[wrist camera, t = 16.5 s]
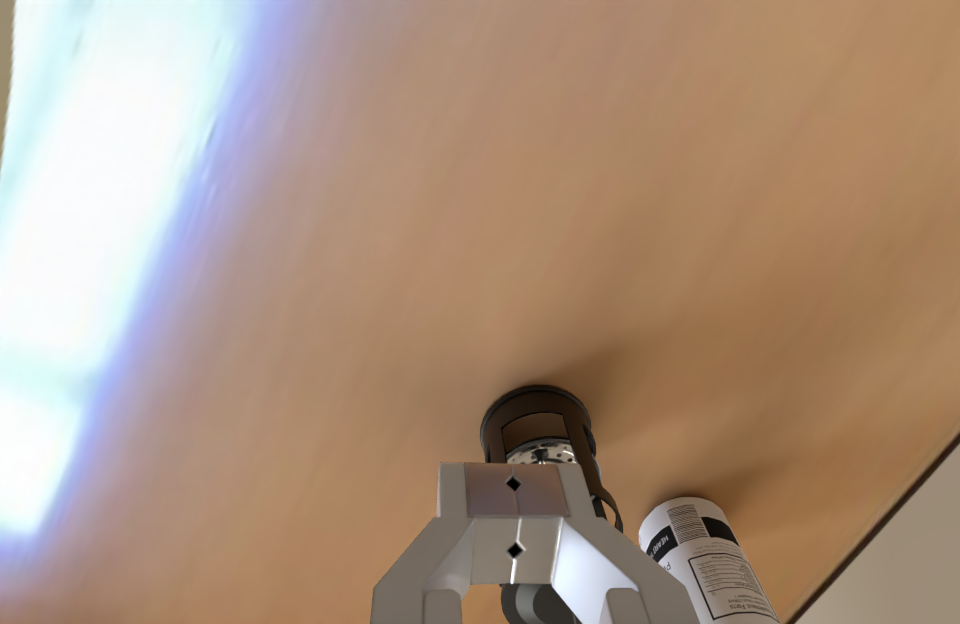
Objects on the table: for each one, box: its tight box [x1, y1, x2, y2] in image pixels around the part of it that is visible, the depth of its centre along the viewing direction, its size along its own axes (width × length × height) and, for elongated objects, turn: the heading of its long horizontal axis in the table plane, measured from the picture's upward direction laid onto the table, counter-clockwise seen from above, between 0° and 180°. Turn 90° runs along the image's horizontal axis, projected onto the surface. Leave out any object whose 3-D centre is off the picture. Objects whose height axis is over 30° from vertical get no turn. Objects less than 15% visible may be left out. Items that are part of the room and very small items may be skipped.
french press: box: [480, 385, 623, 624], centre depth 48 cm, size 12×9×23 cm
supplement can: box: [639, 497, 781, 624], centre depth 57 cm, size 8×8×15 cm
